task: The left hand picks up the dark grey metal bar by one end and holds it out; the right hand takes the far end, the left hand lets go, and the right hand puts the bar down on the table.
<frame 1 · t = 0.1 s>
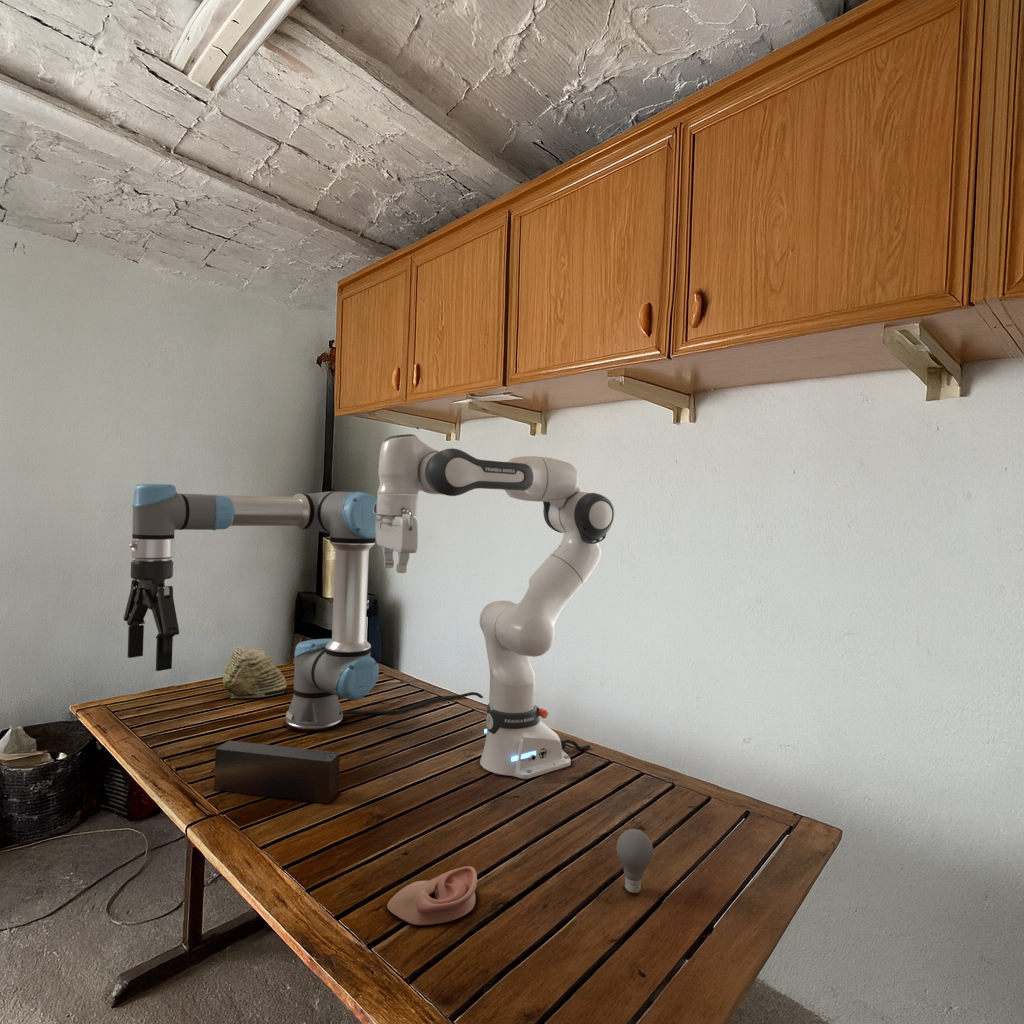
left hand: (149, 663, 129), 28 cm above the table, tool pointing down, fingers open, 13 cm apart
right hand: (394, 570, 140), 48 cm above the table, tool pointing down, fingers open, 8 cm apart
fossil: (254, 694, 198), on the table
light bulb: (632, 891, 106), on the table
bar: (276, 791, 135), on the table
anatomical model: (432, 904, 100), on the table
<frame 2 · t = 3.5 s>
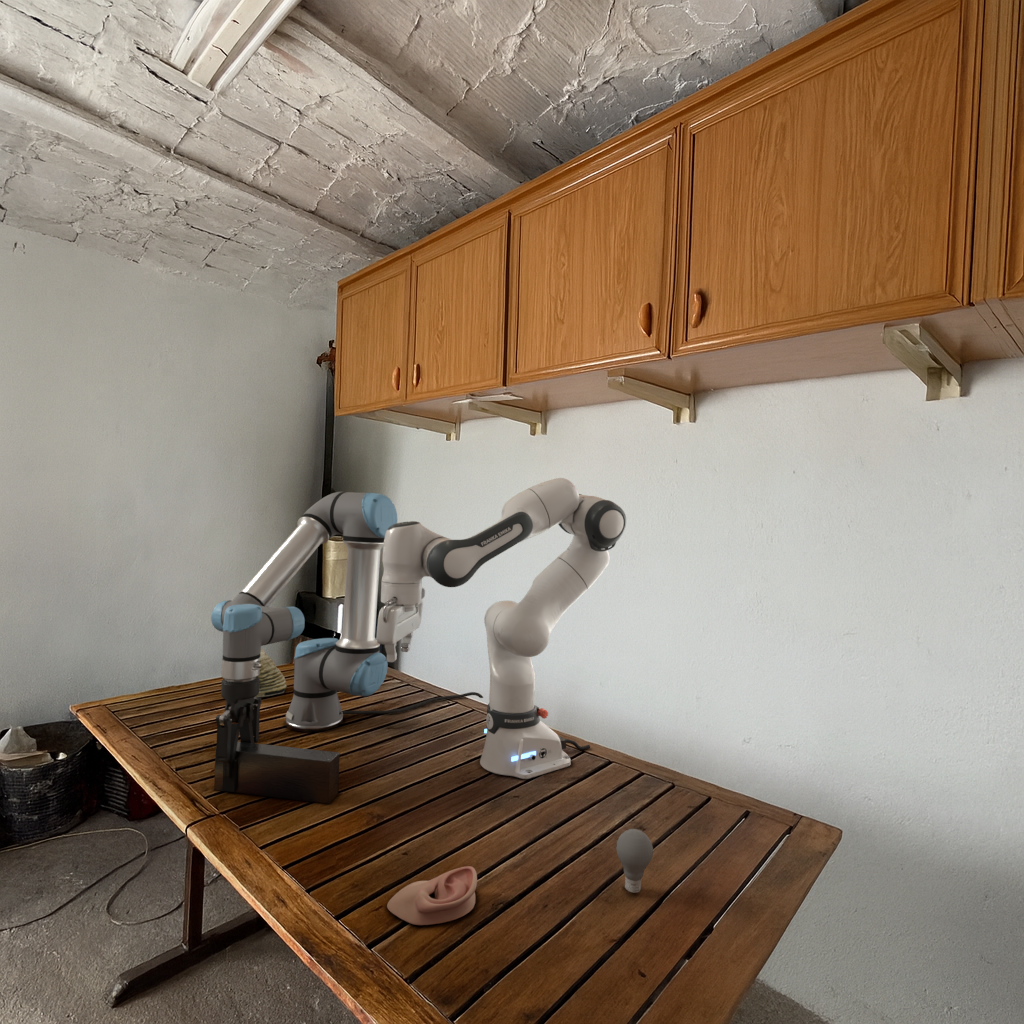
left hand: (237, 784, 136), 1 cm above the table, tool pointing down, fingers closed on bar, 5 cm apart
right hand: (398, 656, 141), 29 cm above the table, tool pointing down, fingers open, 8 cm apart
bar: (276, 791, 135), on the table, touching left hand
everything else where it was.
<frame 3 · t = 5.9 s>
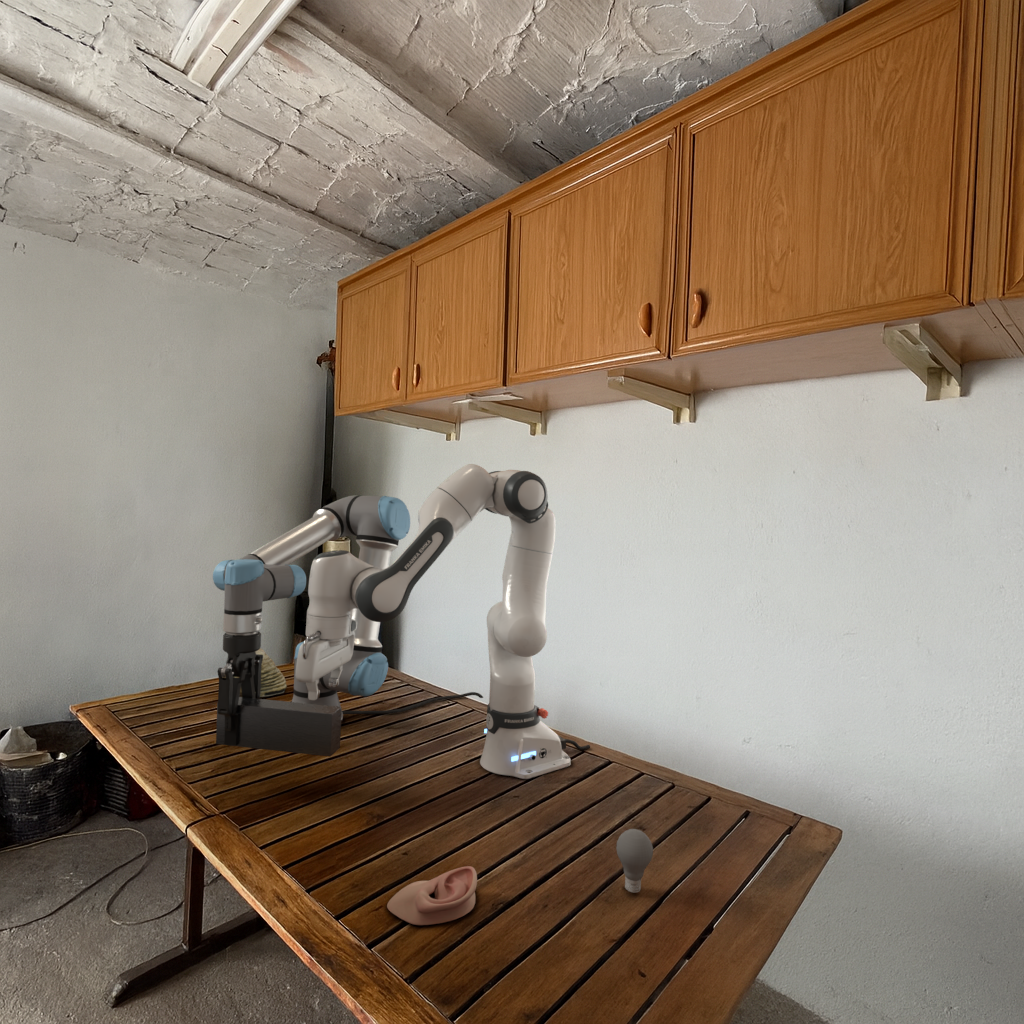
left hand: (238, 739, 136), 10 cm above the table, tool pointing down, fingers closed on bar, 5 cm apart
right hand: (324, 692, 134), 22 cm above the table, tool pointing down, fingers open, 8 cm apart
bar: (278, 746, 135), point 10 cm above the table, touching left hand
everything else where it was.
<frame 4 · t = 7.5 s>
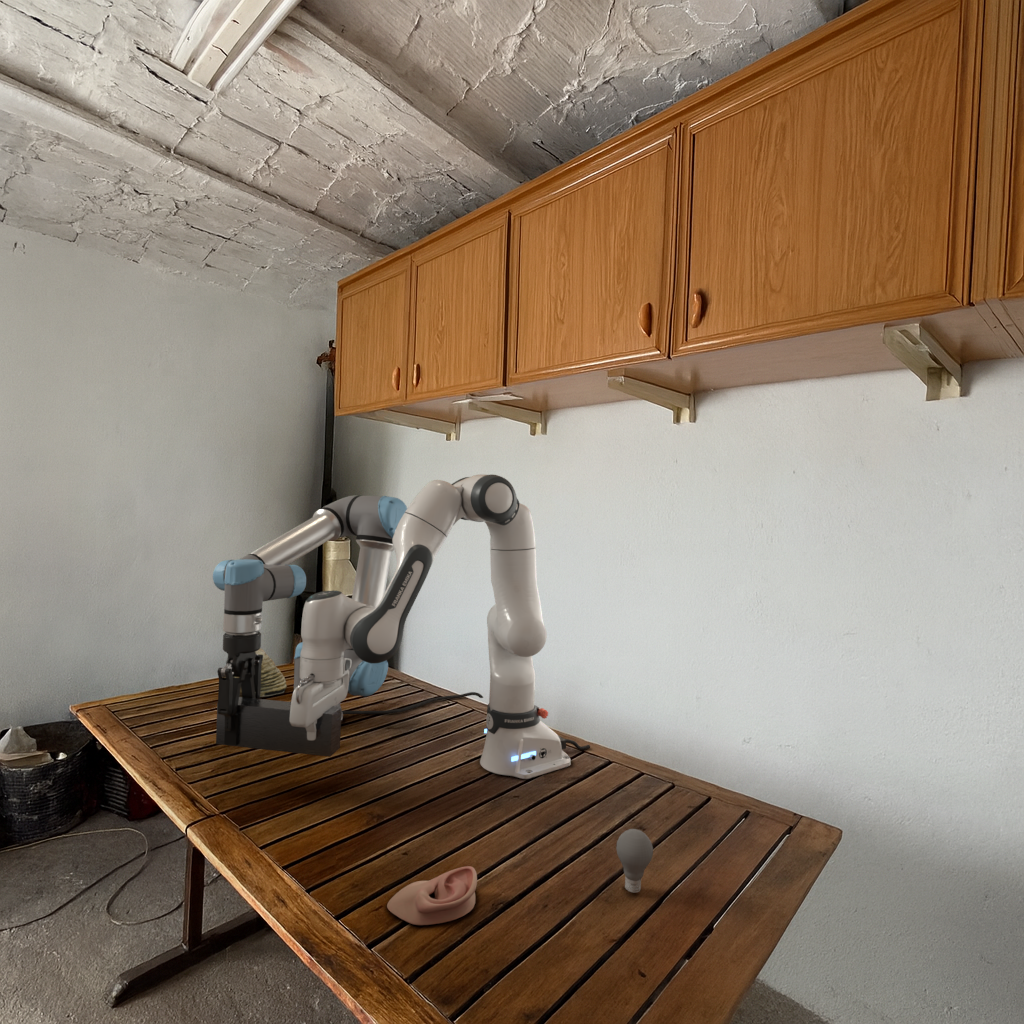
left hand: (238, 739, 136), 10 cm above the table, tool pointing down, fingers closed on bar, 5 cm apart
right hand: (319, 733, 134), 13 cm above the table, tool pointing down, fingers closed on bar, 5 cm apart
bar: (278, 746, 135), point 10 cm above the table, touching left hand, right hand
everything else where it was.
when the left hand's fingers open (10 cm above the table, at t = 8.5 s): bar stays where it is, held by the right hand.
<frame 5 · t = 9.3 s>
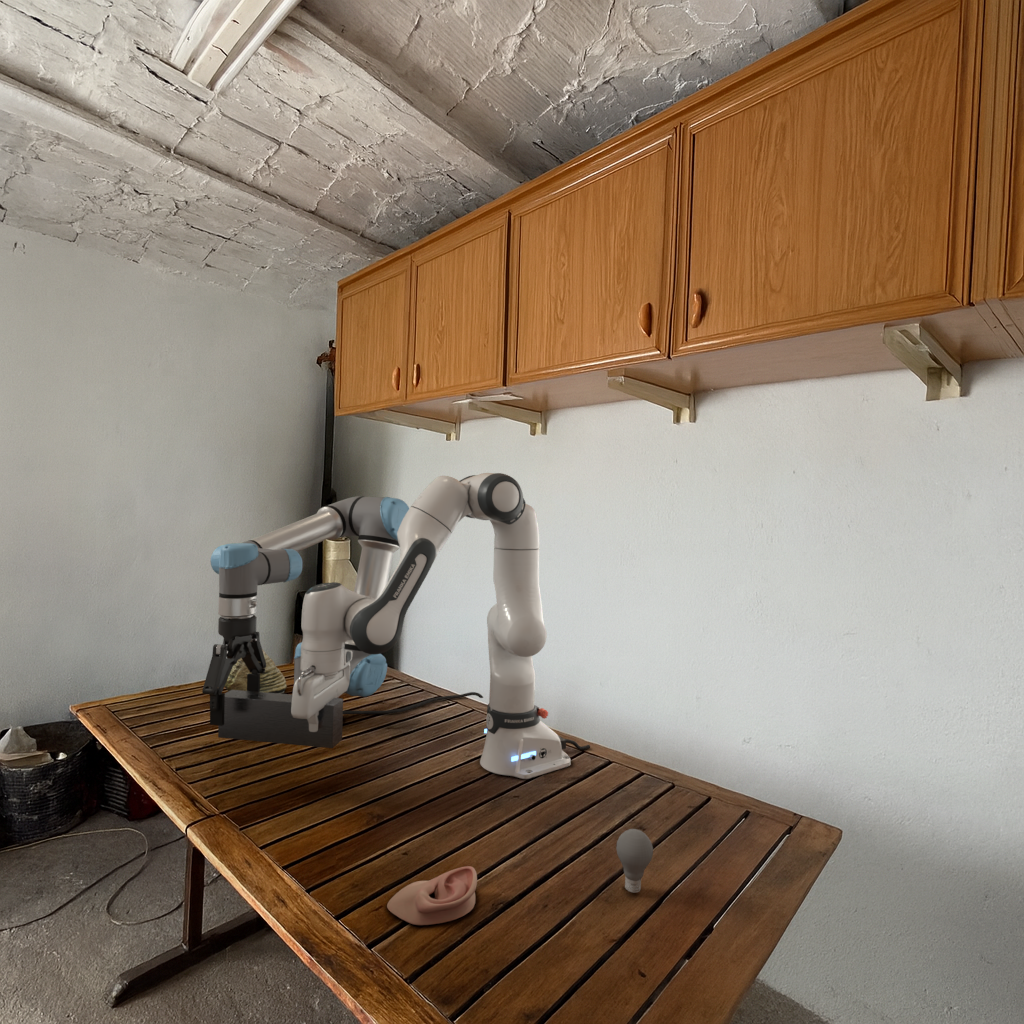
left hand: (235, 713, 137), 16 cm above the table, tool pointing down, fingers open, 13 cm apart
right hand: (321, 725, 134), 15 cm above the table, tool pointing down, fingers closed on bar, 5 cm apart
bar: (280, 738, 135), point 11 cm above the table, touching right hand
everything else where it was.
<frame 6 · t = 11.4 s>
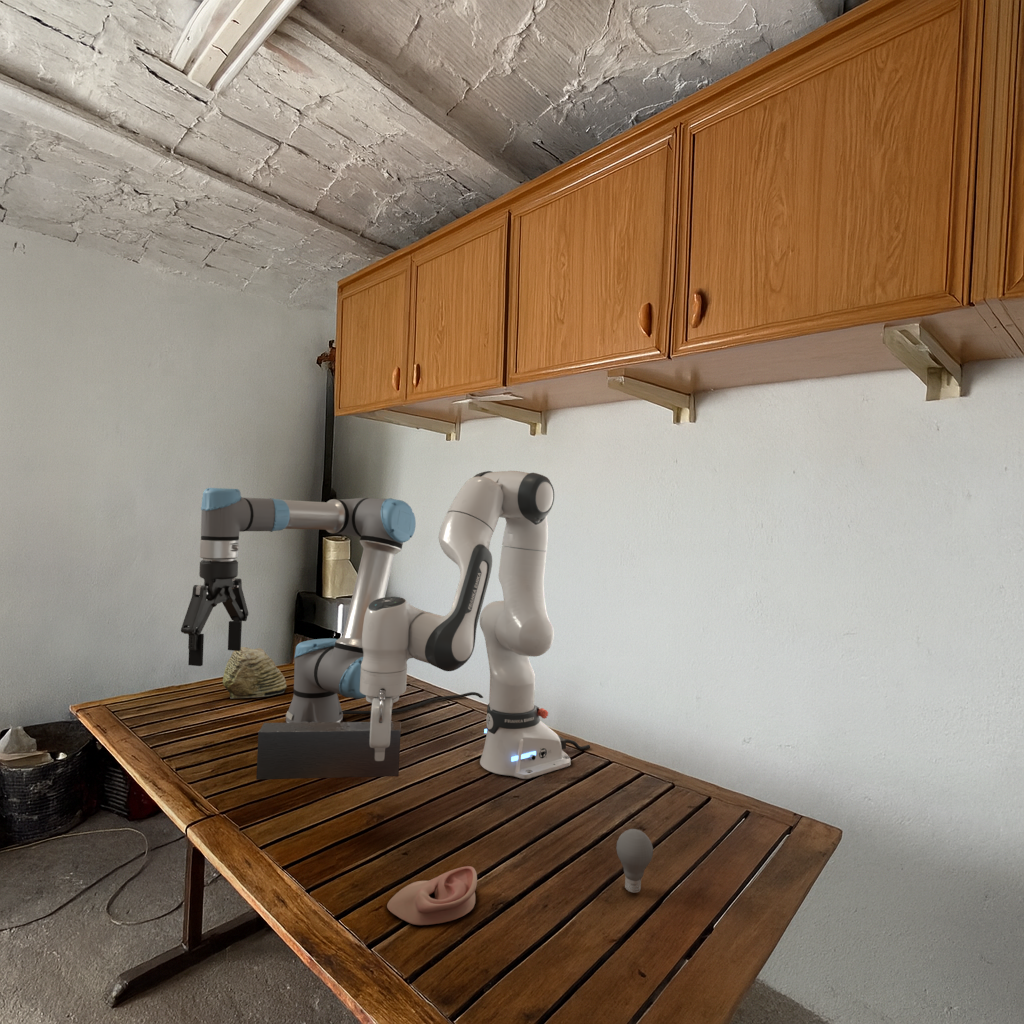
left hand: (215, 657, 137), 28 cm above the table, tool pointing down, fingers open, 13 cm apart
right hand: (380, 753, 123), 14 cm above the table, tool pointing down, fingers closed on bar, 5 cm apart
bar: (330, 772, 121), point 11 cm above the table, touching right hand
everything else where it was.
when the right hand's fingers open (5 cm above the table, at t = 12.8 s): bar stays where it is, on the table.
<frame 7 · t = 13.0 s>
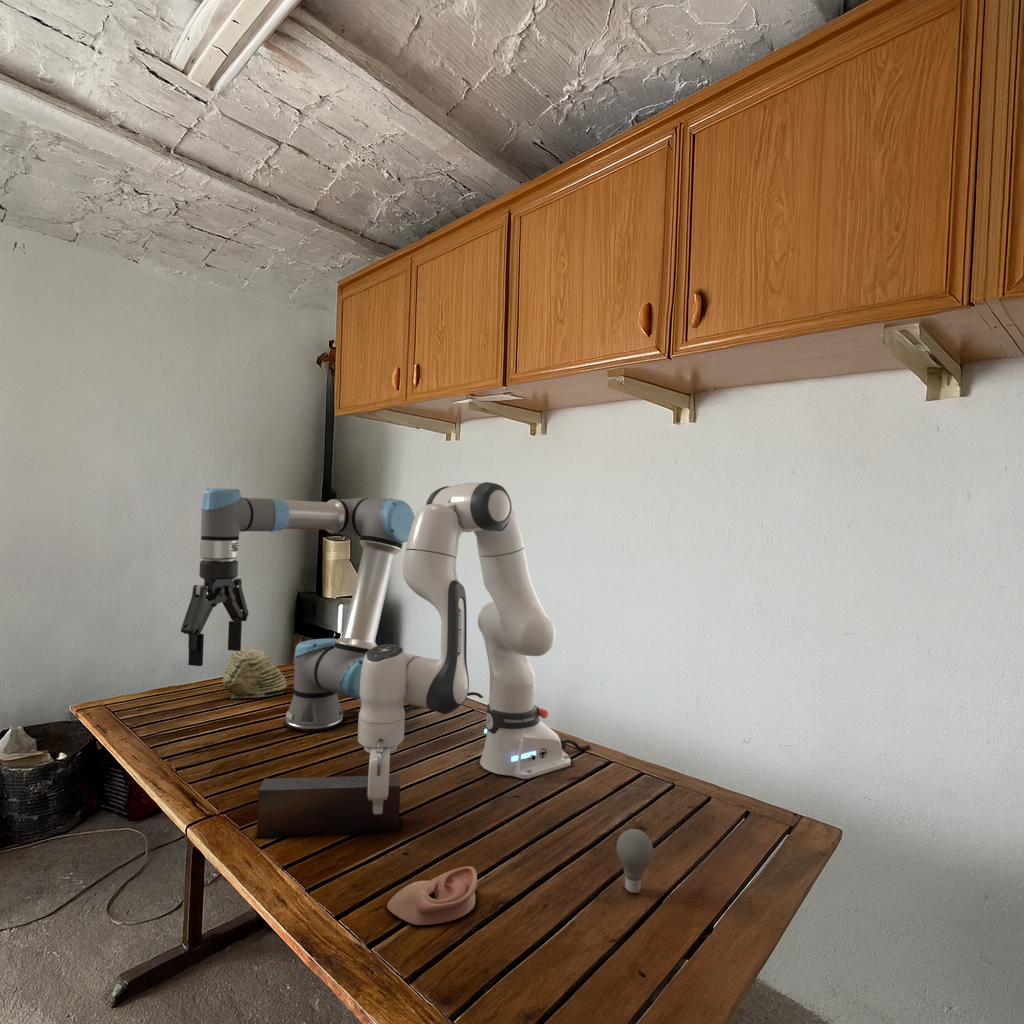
left hand: (215, 657, 137), 28 cm above the table, tool pointing down, fingers open, 13 cm apart
right hand: (378, 801, 123), 5 cm above the table, tool pointing down, fingers open, 7 cm apart
bar: (330, 827, 122), on the table
everything else where it was.
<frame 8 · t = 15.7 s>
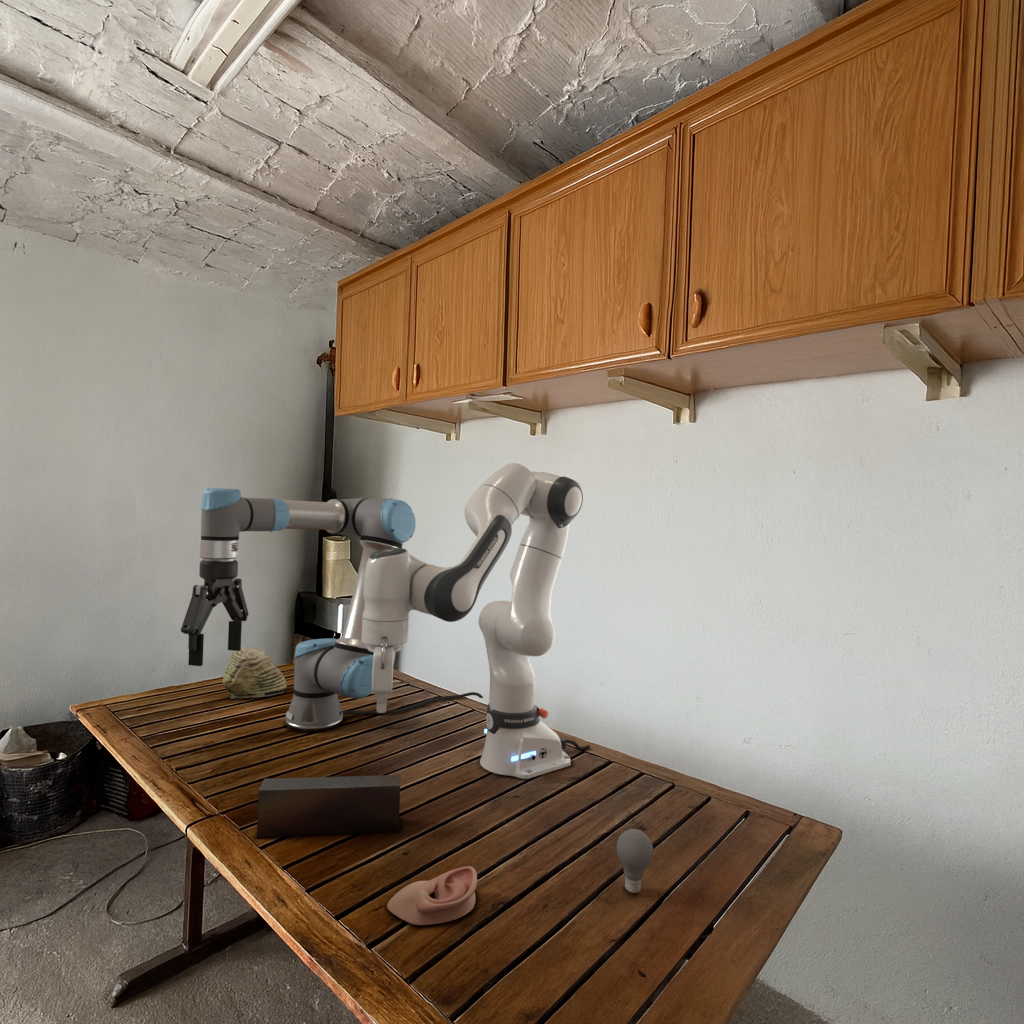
left hand: (215, 657, 137), 28 cm above the table, tool pointing down, fingers open, 13 cm apart
right hand: (382, 703, 123), 24 cm above the table, tool pointing down, fingers open, 8 cm apart
nothing on the table moved.
at the end: bar inside the target area (8.9 cm from its centre), on the table; the left hand is holding nothing; the right hand is holding nothing; bar at rest at the end (0.0 cm/s) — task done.
